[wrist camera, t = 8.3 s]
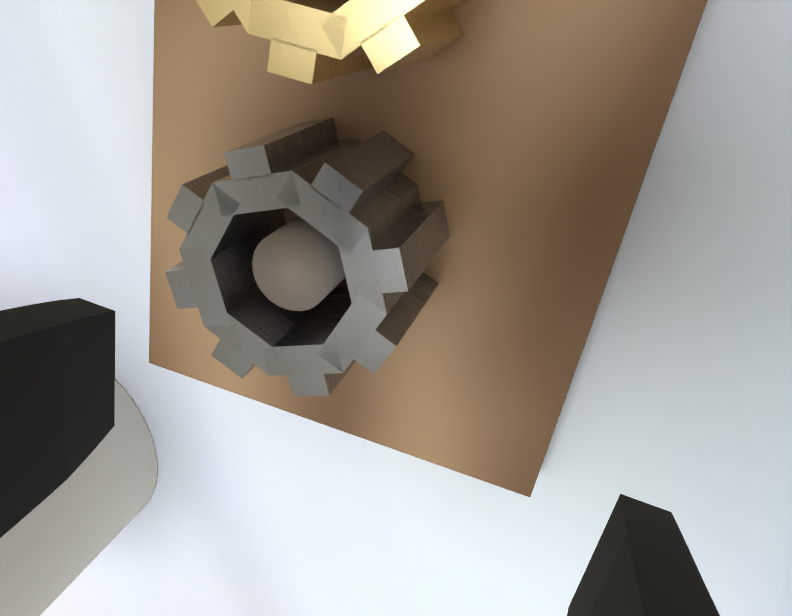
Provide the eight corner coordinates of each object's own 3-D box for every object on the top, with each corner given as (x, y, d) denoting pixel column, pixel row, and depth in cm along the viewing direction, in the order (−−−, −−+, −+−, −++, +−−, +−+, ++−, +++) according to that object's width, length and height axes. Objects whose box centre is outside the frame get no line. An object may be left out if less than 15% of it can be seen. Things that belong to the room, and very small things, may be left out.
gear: (425, 100, 15) (374, 126, 12) (465, 323, 17) (429, 394, 14) (218, 137, 17) (130, 167, 14) (274, 334, 19) (207, 398, 16)
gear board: (823, -342, 12) (908, -495, 8) (535, 470, 20) (513, 577, 16) (196, -407, 14) (42, -550, 10) (171, 345, 22) (80, 414, 19)
